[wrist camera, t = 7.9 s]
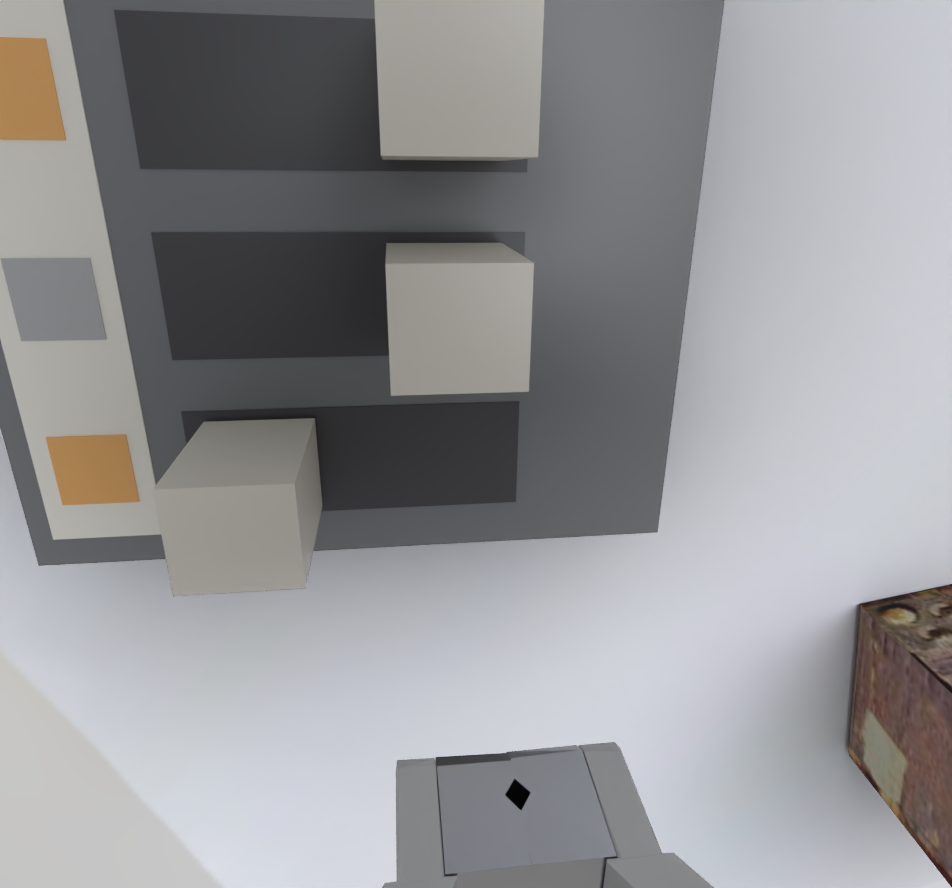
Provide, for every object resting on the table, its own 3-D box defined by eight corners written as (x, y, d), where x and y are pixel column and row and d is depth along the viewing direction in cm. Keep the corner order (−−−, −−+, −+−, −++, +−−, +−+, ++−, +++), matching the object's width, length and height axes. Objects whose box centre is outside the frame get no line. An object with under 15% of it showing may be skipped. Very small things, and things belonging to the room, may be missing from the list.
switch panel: (-85, -51, 18) (-143, -78, 16) (698, -17, 20) (730, -37, 18) (65, 536, 25) (37, 567, 23) (639, 507, 27) (658, 533, 25)
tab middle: (386, 243, 20) (385, 263, 15) (501, 242, 20) (533, 262, 16) (390, 347, 21) (390, 395, 17) (499, 345, 22) (528, 391, 17)
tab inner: (377, 30, 18) (373, -19, 13) (506, 34, 18) (544, -12, 14) (383, 159, 19) (381, 155, 15) (503, 161, 20) (537, 157, 15)
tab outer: (203, 421, 21) (152, 489, 17) (314, 418, 22) (294, 483, 17) (217, 510, 23) (173, 596, 18) (322, 505, 23) (305, 588, 18)
